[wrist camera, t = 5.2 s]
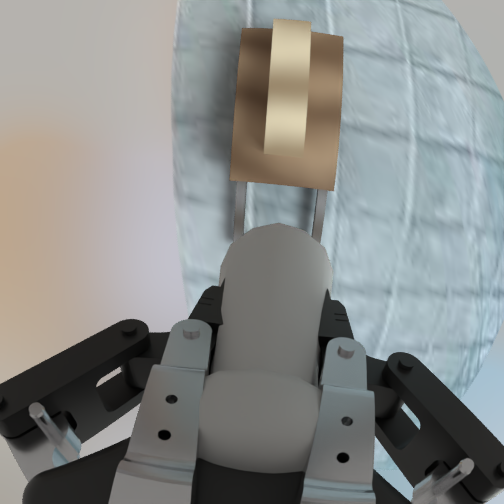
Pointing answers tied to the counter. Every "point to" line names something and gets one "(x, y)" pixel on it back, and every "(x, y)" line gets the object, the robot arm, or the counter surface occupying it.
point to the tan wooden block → (287, 113)
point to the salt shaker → (266, 353)
